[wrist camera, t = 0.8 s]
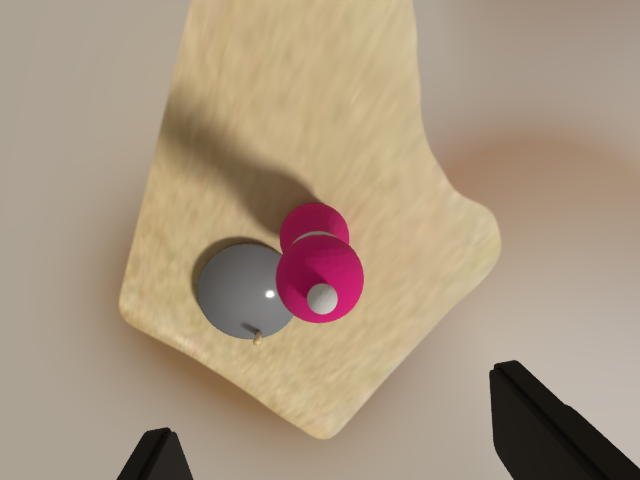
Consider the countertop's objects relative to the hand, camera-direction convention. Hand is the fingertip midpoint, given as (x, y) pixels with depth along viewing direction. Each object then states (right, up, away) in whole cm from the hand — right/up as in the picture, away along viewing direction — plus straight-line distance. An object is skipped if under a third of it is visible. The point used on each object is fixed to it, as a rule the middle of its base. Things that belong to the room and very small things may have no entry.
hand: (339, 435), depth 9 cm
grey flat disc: (-9, 0, +29) cm, 30 cm away
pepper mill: (-1, +7, +28) cm, 29 cm away
